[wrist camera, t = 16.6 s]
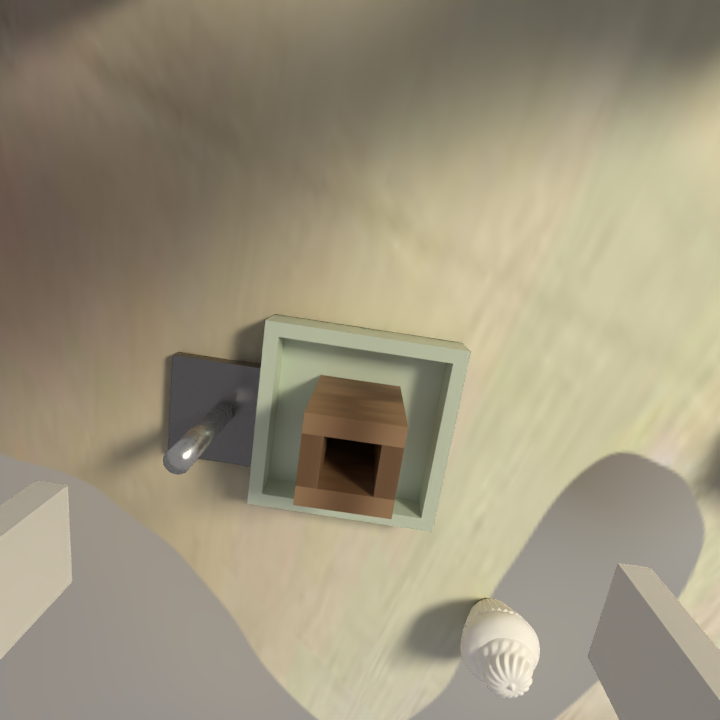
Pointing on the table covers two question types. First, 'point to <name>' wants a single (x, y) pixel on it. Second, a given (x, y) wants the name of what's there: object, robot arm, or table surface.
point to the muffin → (499, 648)
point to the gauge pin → (211, 411)
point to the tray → (365, 363)
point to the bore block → (351, 447)
